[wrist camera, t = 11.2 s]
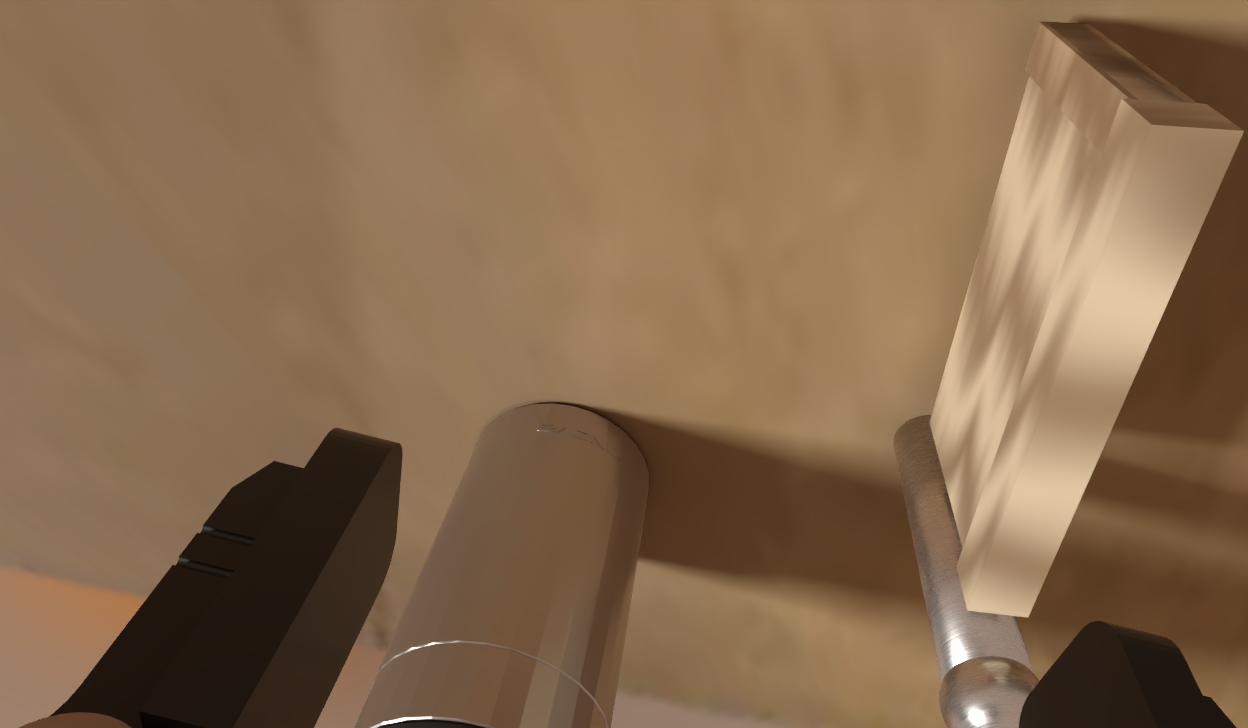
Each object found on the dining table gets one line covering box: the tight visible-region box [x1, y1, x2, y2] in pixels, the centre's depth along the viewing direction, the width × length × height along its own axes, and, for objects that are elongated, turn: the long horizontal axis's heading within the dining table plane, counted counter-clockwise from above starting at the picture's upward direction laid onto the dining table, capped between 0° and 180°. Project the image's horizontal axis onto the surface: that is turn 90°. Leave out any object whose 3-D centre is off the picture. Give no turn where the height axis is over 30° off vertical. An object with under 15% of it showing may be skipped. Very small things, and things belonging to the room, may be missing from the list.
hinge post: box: [893, 416, 1039, 728], centre depth 34 cm, size 3×3×16 cm
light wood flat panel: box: [929, 21, 1244, 618], centre depth 29 cm, size 17×2×10 cm, turn 179°
